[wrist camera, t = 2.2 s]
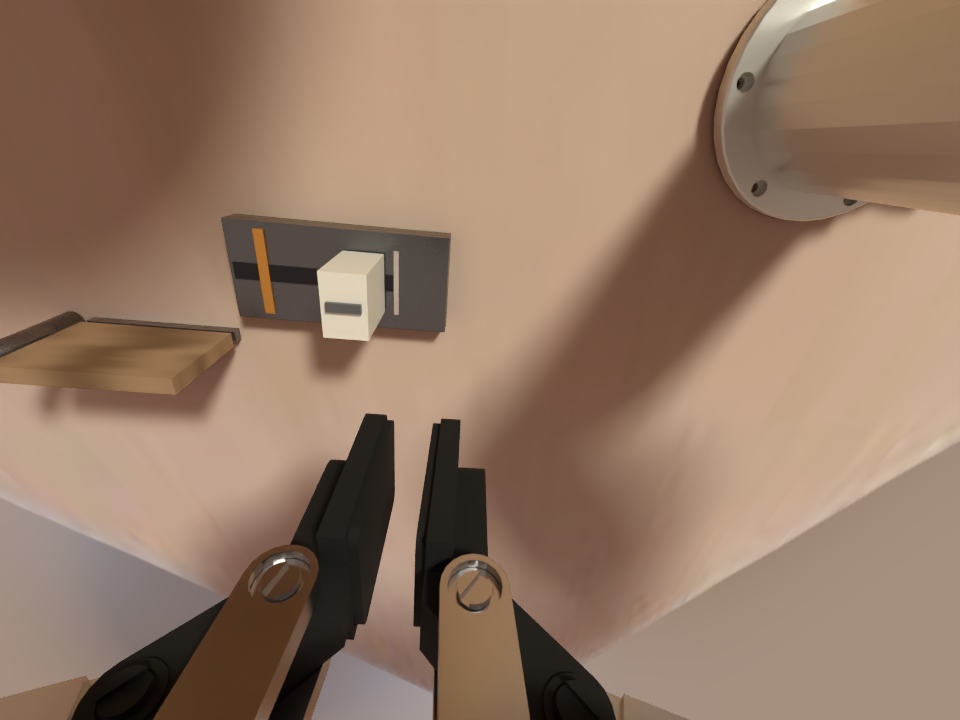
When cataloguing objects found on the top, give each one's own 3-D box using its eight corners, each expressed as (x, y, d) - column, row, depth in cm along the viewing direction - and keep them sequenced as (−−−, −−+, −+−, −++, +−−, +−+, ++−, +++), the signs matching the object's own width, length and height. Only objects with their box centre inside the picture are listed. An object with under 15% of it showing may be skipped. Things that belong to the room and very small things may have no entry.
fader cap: (383, 254, 24) (365, 276, 20) (384, 311, 26) (367, 342, 22) (342, 250, 24) (315, 271, 20) (346, 308, 26) (322, 339, 22)
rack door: (231, 333, 27) (171, 379, 22) (234, 348, 28) (176, 397, 22) (80, 321, 27) (-18, 365, 21) (87, 337, 27) (-8, 384, 22)
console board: (451, 233, 25) (449, 239, 24) (445, 323, 28) (444, 332, 27) (234, 213, 25) (219, 218, 23) (251, 307, 27) (239, 316, 26)
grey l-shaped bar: (238, 324, 28) (164, 380, 21) (241, 342, 29) (171, 402, 22) (59, 310, 27) (-75, 363, 21) (67, 329, 28) (-60, 387, 21)
